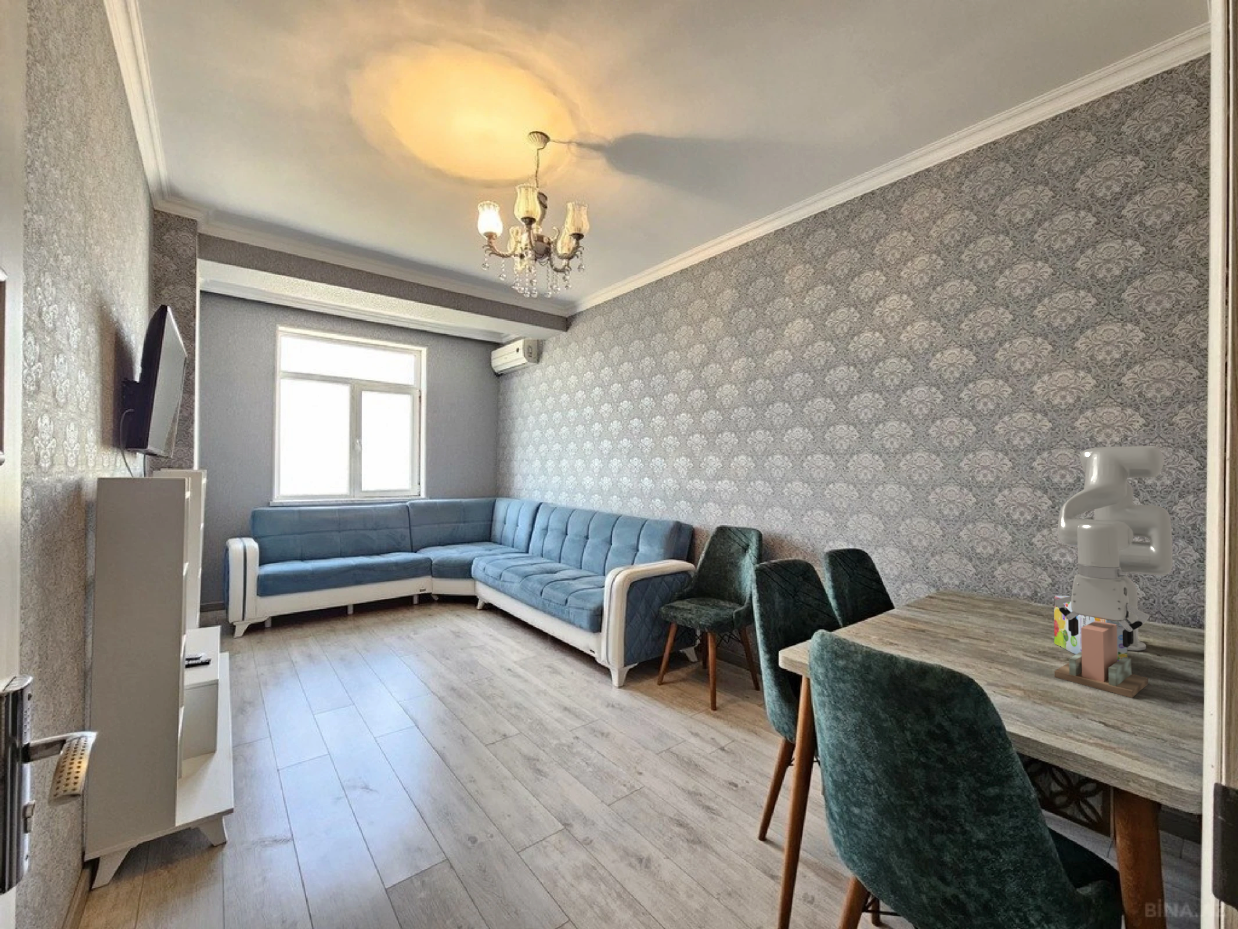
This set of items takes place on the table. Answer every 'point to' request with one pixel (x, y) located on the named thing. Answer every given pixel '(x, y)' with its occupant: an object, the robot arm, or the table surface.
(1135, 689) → the shelf board
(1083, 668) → the tall pink block
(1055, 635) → the snack box
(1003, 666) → the table surface
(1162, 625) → the table surface
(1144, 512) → the robot arm
